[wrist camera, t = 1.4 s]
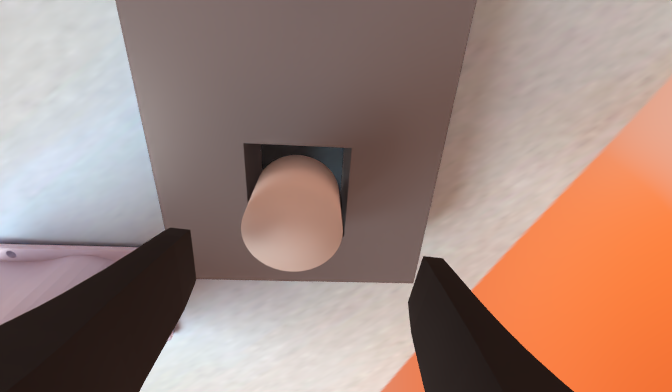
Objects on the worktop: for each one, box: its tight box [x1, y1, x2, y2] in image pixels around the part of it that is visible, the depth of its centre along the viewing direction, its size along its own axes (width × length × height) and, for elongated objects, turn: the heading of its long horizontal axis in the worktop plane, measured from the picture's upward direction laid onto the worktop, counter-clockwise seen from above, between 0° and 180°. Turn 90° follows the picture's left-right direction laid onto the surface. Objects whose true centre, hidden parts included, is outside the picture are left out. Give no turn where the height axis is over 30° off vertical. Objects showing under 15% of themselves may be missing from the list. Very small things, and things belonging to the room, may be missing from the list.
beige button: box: [241, 155, 343, 272], centre depth 13 cm, size 4×4×3 cm
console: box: [115, 0, 476, 283], centre depth 14 cm, size 12×20×4 cm, turn 176°
